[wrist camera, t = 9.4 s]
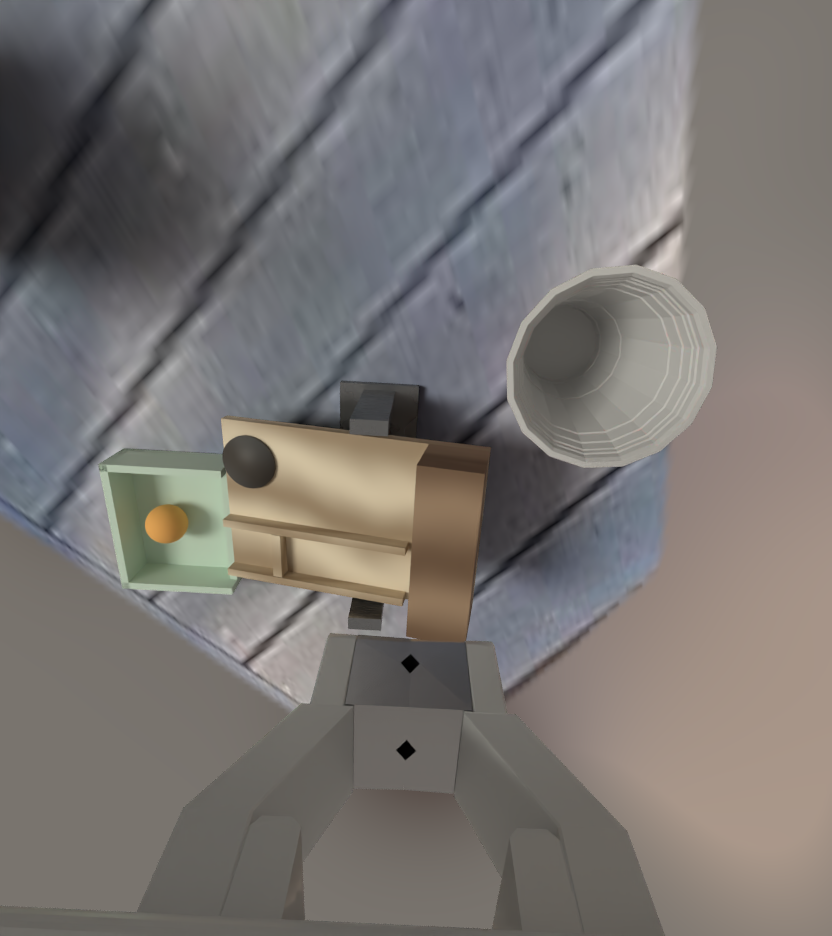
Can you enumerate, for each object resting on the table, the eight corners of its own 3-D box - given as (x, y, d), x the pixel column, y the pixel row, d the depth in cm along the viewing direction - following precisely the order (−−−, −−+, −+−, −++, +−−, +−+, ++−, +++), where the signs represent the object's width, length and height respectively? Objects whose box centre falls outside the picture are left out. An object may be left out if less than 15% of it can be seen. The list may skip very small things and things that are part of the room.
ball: (151, 497, 42) (135, 515, 39) (191, 498, 42) (178, 515, 39) (157, 531, 43) (141, 550, 40) (195, 531, 44) (182, 551, 41)
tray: (123, 448, 41) (98, 464, 38) (236, 454, 41) (220, 471, 38) (144, 565, 45) (122, 588, 42) (246, 570, 45) (232, 594, 42)
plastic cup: (496, 256, 35) (529, 251, 24) (647, 274, 36) (748, 278, 24) (472, 405, 39) (491, 460, 28) (608, 421, 40) (680, 481, 29)
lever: (227, 415, 36) (185, 435, 32) (490, 447, 33) (485, 474, 29) (240, 563, 41) (205, 598, 37) (472, 603, 38) (464, 647, 33)
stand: (341, 380, 39) (320, 410, 31) (419, 385, 39) (417, 415, 31) (341, 568, 45) (323, 632, 37) (408, 571, 45) (404, 636, 37)
